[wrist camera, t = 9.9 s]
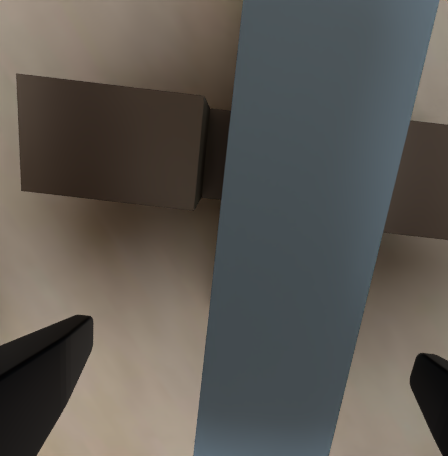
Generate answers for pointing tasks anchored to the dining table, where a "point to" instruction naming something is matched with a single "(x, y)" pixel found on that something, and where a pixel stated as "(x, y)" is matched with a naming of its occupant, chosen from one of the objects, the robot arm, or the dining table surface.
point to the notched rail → (180, 151)
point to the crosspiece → (303, 214)
